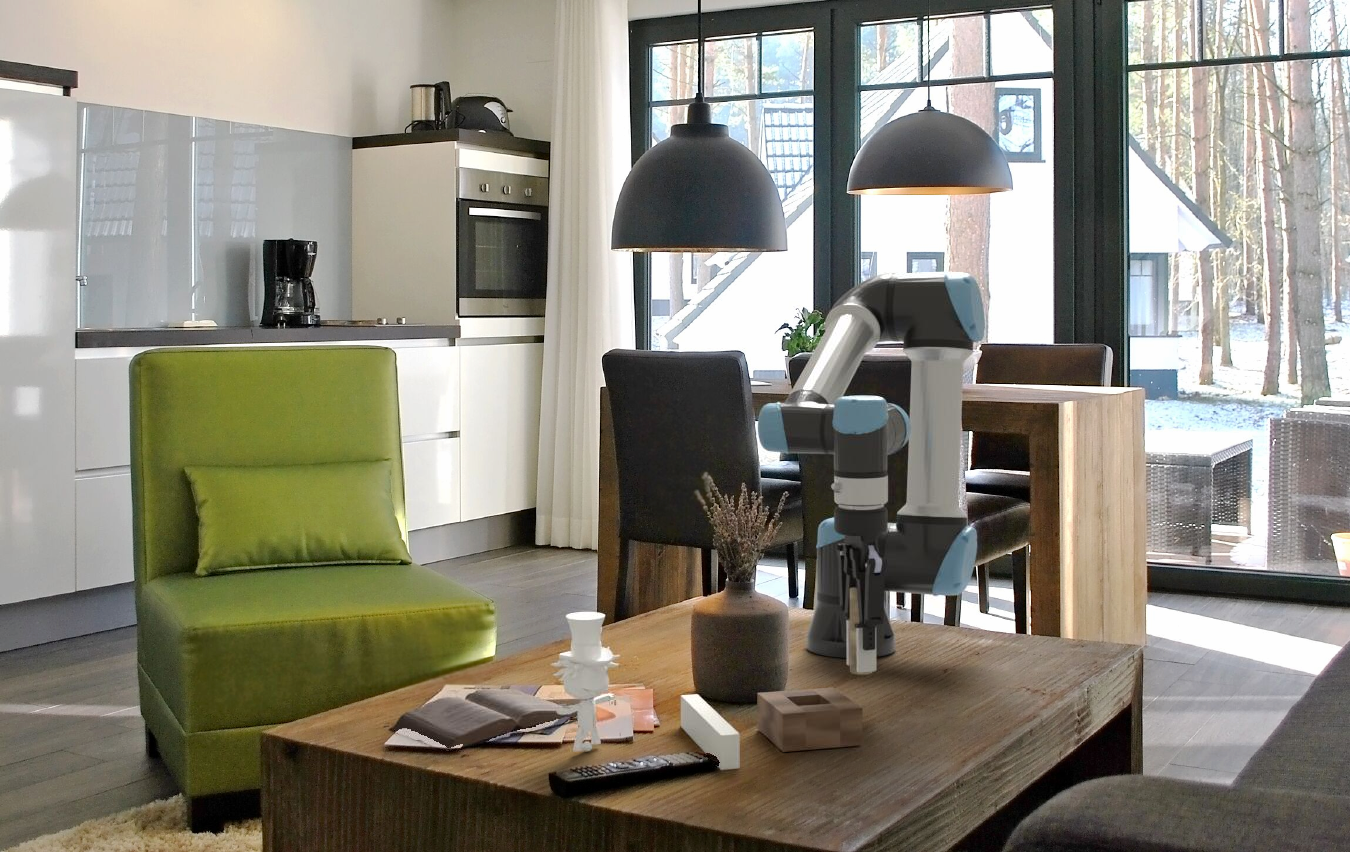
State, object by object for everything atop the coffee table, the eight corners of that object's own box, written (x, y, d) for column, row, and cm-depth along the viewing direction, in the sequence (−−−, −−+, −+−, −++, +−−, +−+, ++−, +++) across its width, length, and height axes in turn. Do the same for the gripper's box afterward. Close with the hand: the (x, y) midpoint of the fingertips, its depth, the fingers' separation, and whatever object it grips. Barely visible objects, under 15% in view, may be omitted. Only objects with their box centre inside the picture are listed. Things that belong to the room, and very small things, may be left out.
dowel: (846, 669, 202) (846, 587, 201) (867, 667, 203) (867, 586, 202) (855, 675, 199) (854, 592, 198) (876, 673, 200) (875, 590, 198)
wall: (680, 726, 195) (680, 695, 195) (697, 725, 196) (697, 694, 195) (721, 770, 176) (721, 735, 175) (739, 768, 176) (739, 734, 176)
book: (367, 733, 196) (366, 702, 195) (528, 692, 215) (528, 664, 214) (447, 775, 181) (447, 741, 181) (612, 727, 200) (613, 697, 200)
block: (757, 728, 193) (757, 693, 193) (832, 722, 196) (832, 687, 195) (783, 751, 182) (783, 714, 182) (862, 745, 185) (862, 707, 185)
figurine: (582, 767, 177) (580, 626, 176) (538, 756, 182) (536, 618, 181) (634, 747, 185) (634, 612, 184) (591, 737, 190) (590, 606, 189)
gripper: (815, 498, 205) (817, 656, 208) (857, 515, 190) (858, 685, 192) (863, 496, 207) (864, 651, 209) (908, 512, 192) (908, 680, 194)
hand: (861, 667), depth 201 cm, fingers closed on dowel, 3 cm apart
